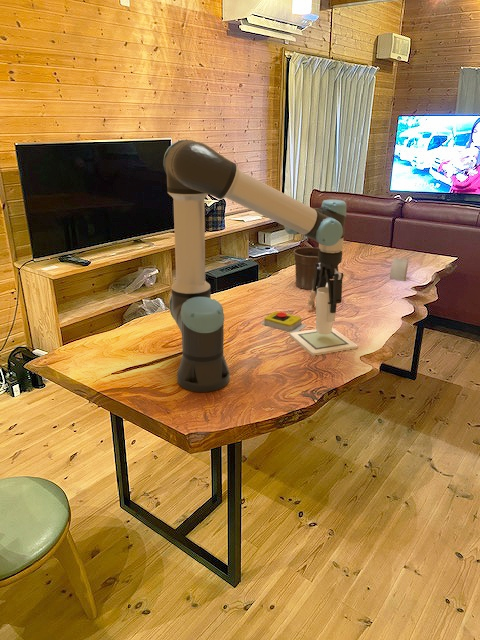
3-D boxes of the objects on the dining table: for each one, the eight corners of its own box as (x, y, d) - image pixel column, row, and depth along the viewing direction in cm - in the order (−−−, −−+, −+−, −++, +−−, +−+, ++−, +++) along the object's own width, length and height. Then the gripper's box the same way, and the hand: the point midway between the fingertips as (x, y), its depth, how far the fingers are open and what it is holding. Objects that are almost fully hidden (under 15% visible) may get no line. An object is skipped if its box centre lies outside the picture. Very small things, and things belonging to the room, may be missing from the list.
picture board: (312, 356, 157) (313, 353, 156) (289, 335, 171) (289, 332, 171) (357, 348, 162) (358, 345, 162) (331, 329, 177) (331, 326, 177)
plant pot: (334, 289, 218) (337, 254, 212) (302, 293, 213) (304, 257, 207) (315, 279, 232) (318, 246, 226) (285, 282, 227) (287, 248, 221)
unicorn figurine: (335, 299, 206) (338, 269, 201) (324, 315, 190) (326, 282, 185) (319, 297, 209) (321, 267, 204) (306, 312, 193) (308, 279, 187)
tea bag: (403, 281, 232) (406, 260, 228) (389, 278, 235) (392, 258, 231) (405, 279, 235) (408, 259, 231) (391, 276, 238) (394, 256, 234)
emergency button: (273, 306, 186) (308, 315, 179) (272, 317, 188) (307, 326, 180) (260, 314, 179) (295, 323, 172) (259, 325, 181) (295, 335, 173)
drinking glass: (310, 333, 164) (313, 291, 158) (317, 326, 170) (320, 285, 164) (330, 337, 161) (333, 294, 156) (336, 330, 167) (340, 288, 161)
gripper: (358, 256, 147) (350, 326, 156) (325, 242, 164) (319, 306, 173) (336, 258, 145) (330, 329, 154) (305, 243, 162) (301, 308, 171)
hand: (324, 317), depth 163 cm, fingers closed on drinking glass, 7 cm apart
